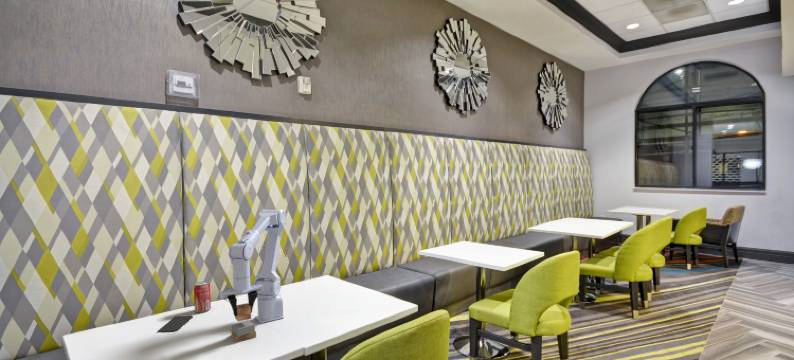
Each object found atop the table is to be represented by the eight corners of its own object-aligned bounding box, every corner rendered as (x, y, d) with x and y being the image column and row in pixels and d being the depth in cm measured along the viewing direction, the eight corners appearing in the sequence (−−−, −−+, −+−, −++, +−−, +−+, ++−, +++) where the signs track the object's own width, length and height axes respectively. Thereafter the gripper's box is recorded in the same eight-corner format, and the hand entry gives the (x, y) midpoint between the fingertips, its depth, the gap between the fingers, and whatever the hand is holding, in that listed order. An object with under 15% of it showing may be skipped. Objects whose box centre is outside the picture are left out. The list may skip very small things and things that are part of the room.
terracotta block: (247, 315, 146) (247, 303, 146) (251, 318, 142) (250, 306, 142) (234, 317, 143) (234, 305, 143) (238, 321, 140) (237, 309, 140)
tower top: (248, 326, 147) (248, 319, 147) (254, 331, 142) (254, 324, 142) (231, 331, 143) (231, 324, 143) (238, 336, 138) (237, 329, 138)
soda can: (200, 314, 166) (199, 285, 165) (191, 311, 169) (190, 283, 169) (214, 309, 171) (213, 282, 171) (205, 306, 174) (204, 280, 174)
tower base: (251, 332, 148) (251, 325, 148) (256, 338, 142) (256, 331, 142) (231, 336, 144) (231, 330, 144) (235, 343, 138) (235, 336, 138)
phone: (156, 331, 148) (175, 316, 163) (156, 333, 148) (175, 318, 163) (176, 330, 148) (193, 315, 163) (176, 332, 148) (194, 317, 163)
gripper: (222, 282, 135) (223, 322, 135) (265, 275, 143) (266, 312, 144) (218, 278, 141) (219, 315, 141) (259, 271, 149) (261, 307, 149)
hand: (242, 313), depth 143 cm, fingers closed on terracotta block, 4 cm apart
